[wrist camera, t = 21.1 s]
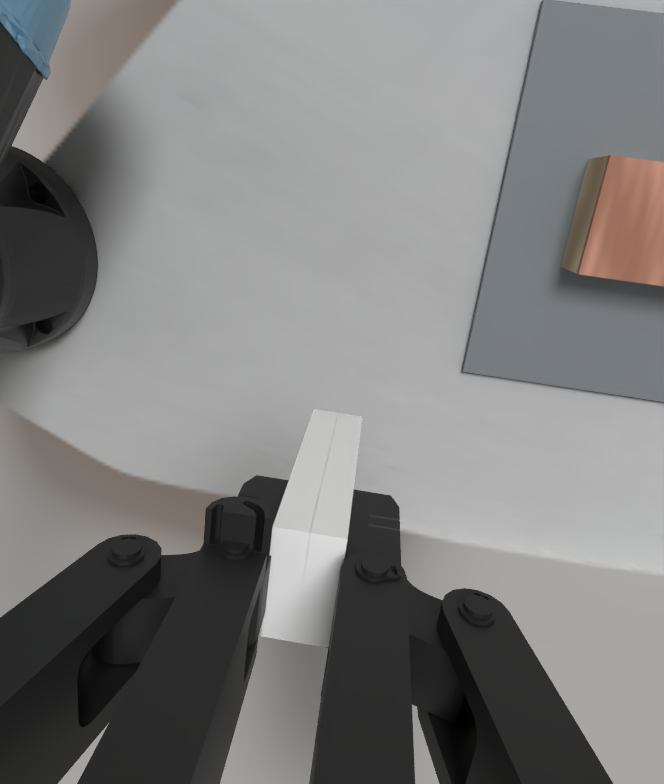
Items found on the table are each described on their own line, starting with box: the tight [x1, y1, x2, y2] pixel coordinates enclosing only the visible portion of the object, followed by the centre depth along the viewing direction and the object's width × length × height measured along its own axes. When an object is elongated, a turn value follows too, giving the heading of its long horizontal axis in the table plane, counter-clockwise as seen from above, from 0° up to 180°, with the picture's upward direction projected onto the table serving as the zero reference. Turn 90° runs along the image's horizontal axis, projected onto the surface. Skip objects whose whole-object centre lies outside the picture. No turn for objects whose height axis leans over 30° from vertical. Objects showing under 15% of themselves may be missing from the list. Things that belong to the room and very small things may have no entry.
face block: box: [561, 155, 664, 286], centre depth 37 cm, size 4×7×10 cm
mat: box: [462, 0, 664, 402], centre depth 39 cm, size 18×24×1 cm
